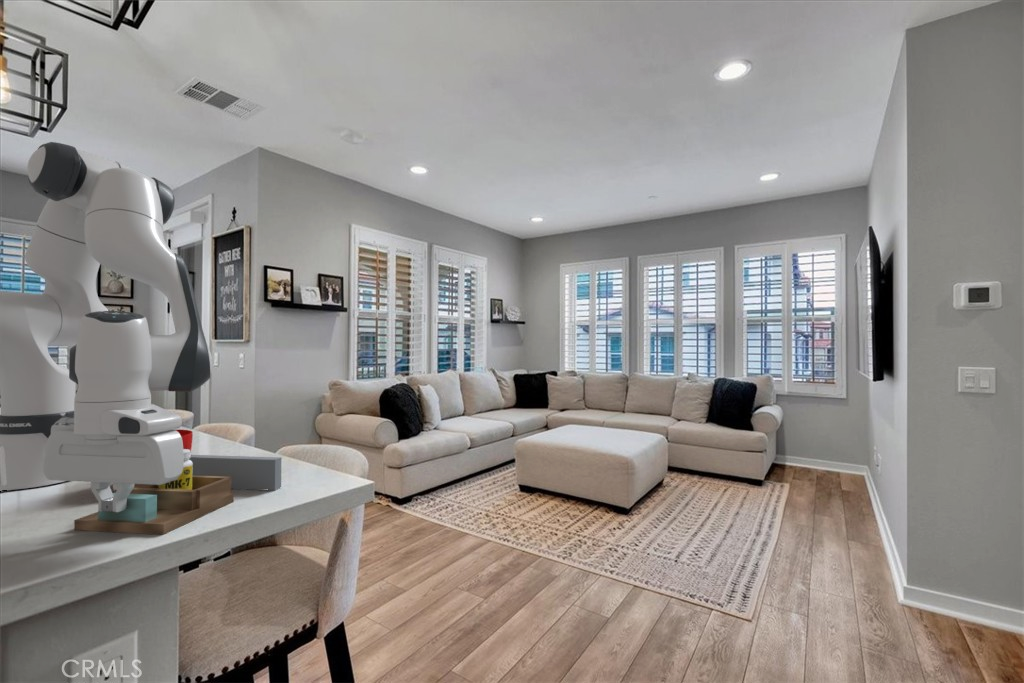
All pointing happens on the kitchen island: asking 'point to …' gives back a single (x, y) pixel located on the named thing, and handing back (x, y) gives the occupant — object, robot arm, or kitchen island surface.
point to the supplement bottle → (182, 475)
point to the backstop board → (241, 470)
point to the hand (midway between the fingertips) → (112, 510)
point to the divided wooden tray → (162, 507)
